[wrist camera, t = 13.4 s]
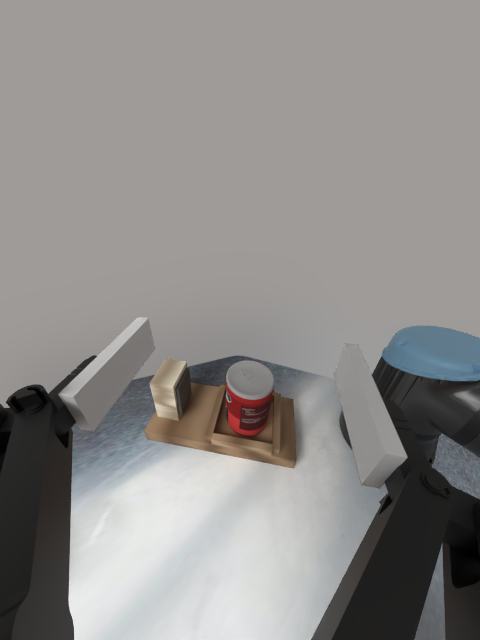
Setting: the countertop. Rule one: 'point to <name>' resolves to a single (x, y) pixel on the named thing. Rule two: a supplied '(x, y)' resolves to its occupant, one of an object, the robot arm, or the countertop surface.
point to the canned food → (248, 397)
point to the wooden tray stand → (215, 419)
